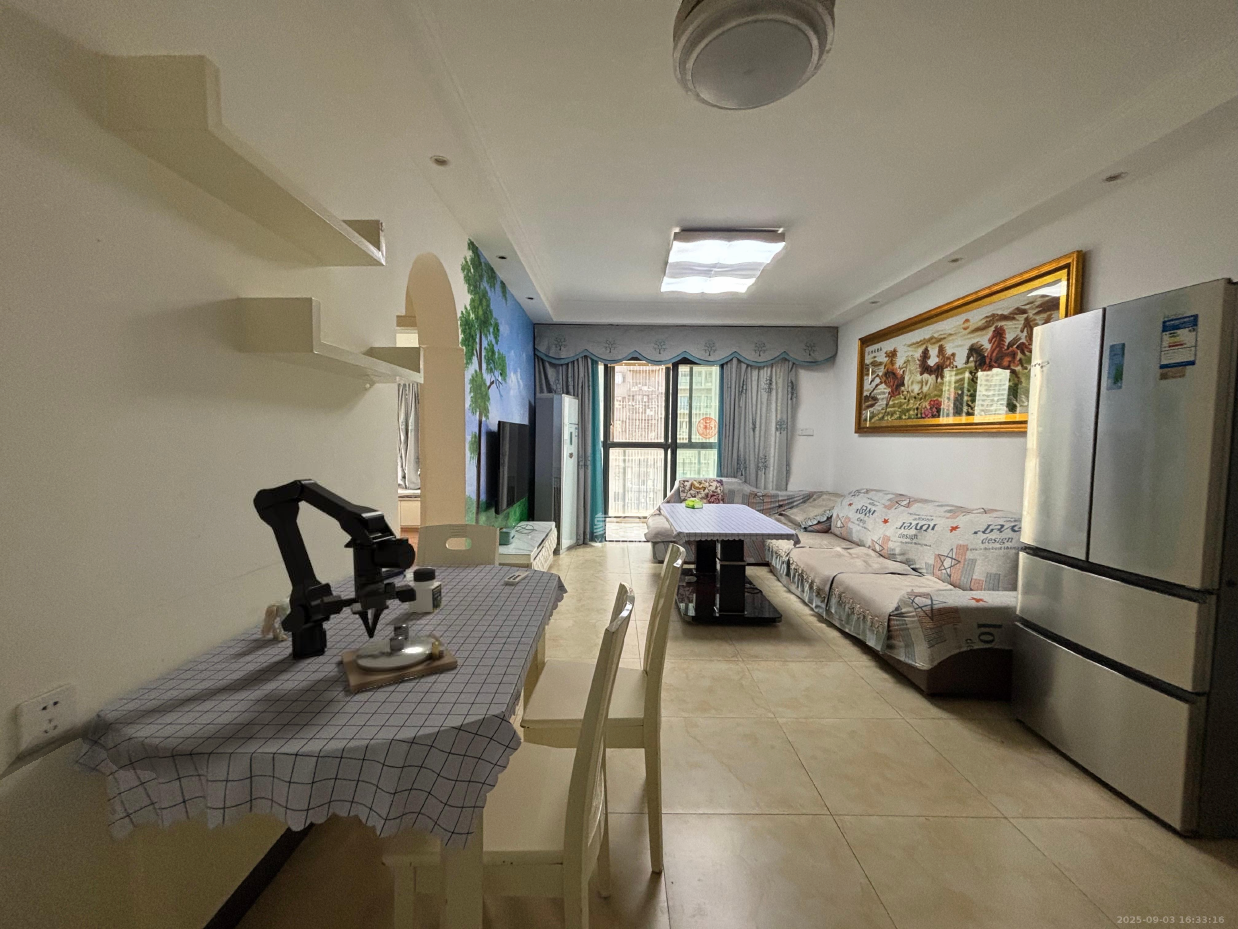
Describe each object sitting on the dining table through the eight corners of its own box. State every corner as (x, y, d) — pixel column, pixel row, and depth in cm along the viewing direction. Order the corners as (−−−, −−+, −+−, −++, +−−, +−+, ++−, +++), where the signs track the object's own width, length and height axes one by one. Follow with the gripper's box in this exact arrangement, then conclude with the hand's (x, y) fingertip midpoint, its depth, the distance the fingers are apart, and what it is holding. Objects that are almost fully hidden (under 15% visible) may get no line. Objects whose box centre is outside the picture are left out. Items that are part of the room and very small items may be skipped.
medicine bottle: (433, 613, 149) (431, 571, 148) (408, 613, 149) (406, 571, 148) (442, 605, 156) (440, 565, 155) (418, 606, 156) (416, 565, 156)
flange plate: (340, 671, 106) (339, 649, 106) (379, 642, 122) (378, 623, 122) (430, 670, 105) (430, 648, 105) (458, 641, 121) (457, 621, 121)
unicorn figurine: (321, 619, 146) (319, 571, 145) (292, 644, 127) (290, 589, 126) (292, 622, 144) (290, 573, 144) (259, 647, 125) (256, 592, 125)
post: (391, 651, 111) (390, 641, 111) (388, 647, 114) (388, 637, 114) (406, 648, 113) (405, 638, 113) (403, 644, 116) (403, 634, 116)
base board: (351, 693, 100) (351, 685, 100) (341, 659, 117) (341, 652, 117) (457, 667, 111) (457, 660, 111) (434, 639, 127) (434, 633, 127)
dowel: (433, 660, 111) (432, 644, 110) (431, 658, 112) (431, 642, 112) (440, 659, 111) (439, 643, 111) (438, 657, 112) (437, 641, 112)
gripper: (322, 582, 104) (325, 659, 105) (420, 568, 114) (423, 639, 115) (318, 571, 113) (321, 643, 114) (409, 559, 124) (412, 625, 124)
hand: (370, 637), depth 116 cm, fingers closed
